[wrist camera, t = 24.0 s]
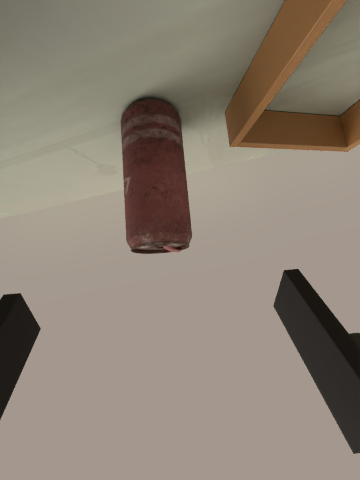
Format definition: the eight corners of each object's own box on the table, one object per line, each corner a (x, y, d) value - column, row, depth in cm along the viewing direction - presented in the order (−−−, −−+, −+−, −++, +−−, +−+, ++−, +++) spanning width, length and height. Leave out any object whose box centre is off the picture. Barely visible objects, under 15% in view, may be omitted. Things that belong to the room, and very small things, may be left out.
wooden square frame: (224, 112, 25) (229, 146, 24) (346, -115, 11) (366, -50, 10) (339, 121, 28) (347, 152, 27) (548, -47, 14) (575, 7, 13)
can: (160, 143, 29) (169, 255, 27) (110, 124, 25) (115, 254, 22) (193, 113, 25) (208, 245, 22) (140, 84, 21) (151, 242, 18)
